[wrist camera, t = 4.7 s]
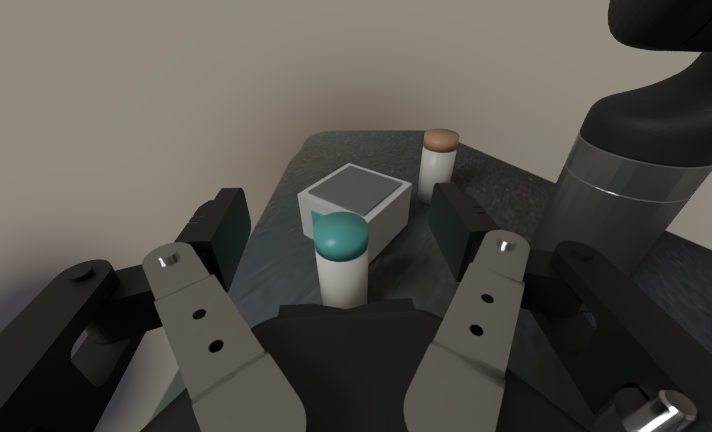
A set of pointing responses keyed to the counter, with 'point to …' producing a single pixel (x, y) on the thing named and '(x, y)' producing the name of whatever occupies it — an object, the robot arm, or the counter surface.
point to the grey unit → (359, 203)
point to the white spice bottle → (436, 161)
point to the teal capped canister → (342, 259)
